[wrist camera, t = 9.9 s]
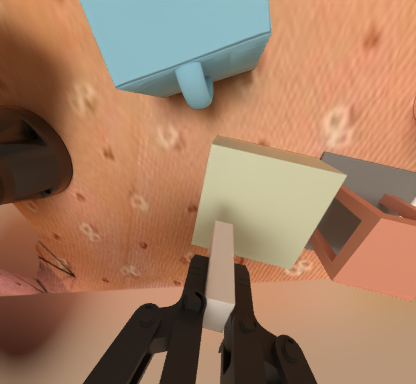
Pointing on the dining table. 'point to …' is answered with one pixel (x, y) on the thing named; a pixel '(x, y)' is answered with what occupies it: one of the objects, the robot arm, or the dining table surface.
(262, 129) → the dining table surface
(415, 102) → the cup
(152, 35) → the teapot
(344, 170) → the mat
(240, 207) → the step block
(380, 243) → the stool
